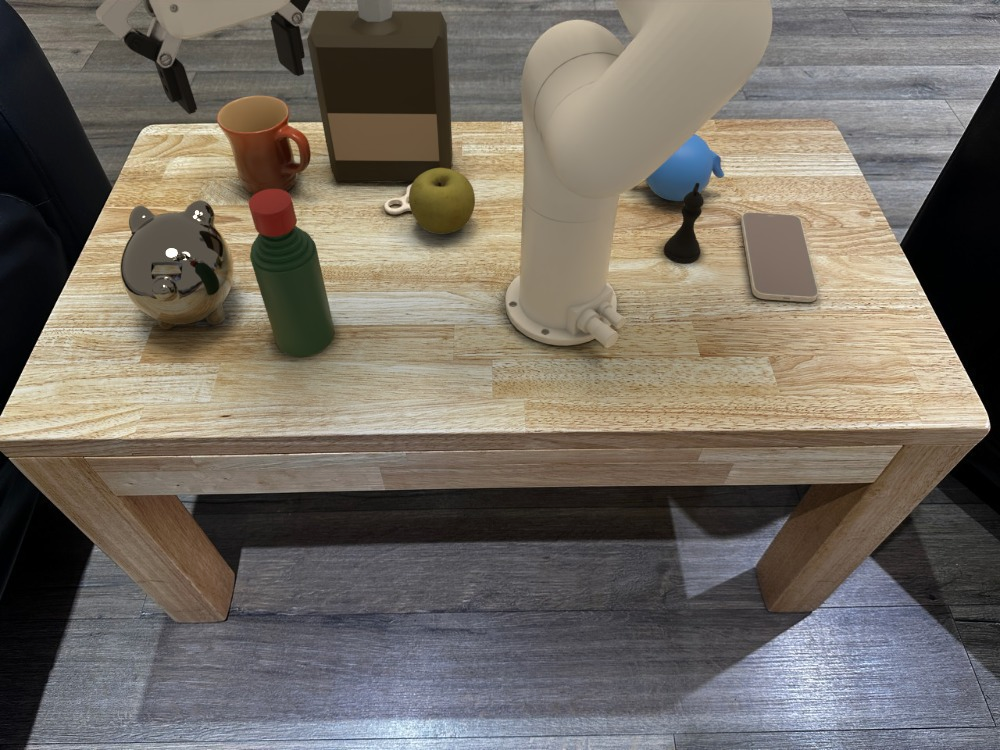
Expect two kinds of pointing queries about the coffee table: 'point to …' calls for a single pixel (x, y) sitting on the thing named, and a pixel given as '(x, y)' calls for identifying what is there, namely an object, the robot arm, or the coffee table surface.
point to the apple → (442, 200)
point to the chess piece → (686, 231)
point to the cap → (272, 212)
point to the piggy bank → (177, 265)
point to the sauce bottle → (293, 292)
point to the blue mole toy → (685, 170)
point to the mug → (263, 142)
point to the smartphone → (778, 257)
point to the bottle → (382, 91)
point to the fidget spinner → (400, 201)
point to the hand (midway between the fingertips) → (240, 86)
